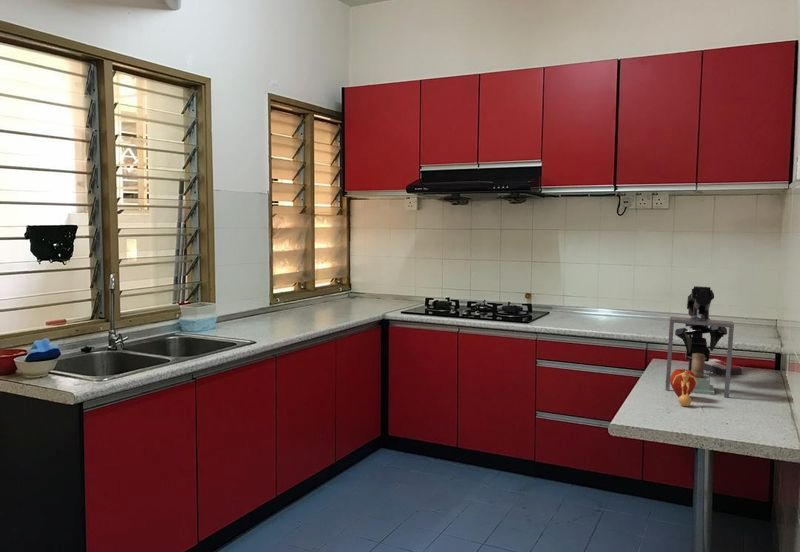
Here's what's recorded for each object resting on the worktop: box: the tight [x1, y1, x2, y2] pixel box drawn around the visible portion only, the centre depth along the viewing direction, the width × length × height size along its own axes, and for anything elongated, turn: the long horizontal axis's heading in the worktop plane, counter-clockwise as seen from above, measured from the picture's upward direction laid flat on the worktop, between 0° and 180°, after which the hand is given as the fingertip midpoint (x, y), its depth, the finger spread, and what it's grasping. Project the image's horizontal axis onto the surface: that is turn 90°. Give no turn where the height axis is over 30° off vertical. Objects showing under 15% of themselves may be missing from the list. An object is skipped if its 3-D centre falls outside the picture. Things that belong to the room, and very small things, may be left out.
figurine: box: [672, 371, 698, 407], centre depth 222 cm, size 8×6×12 cm
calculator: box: [704, 358, 743, 376], centre depth 278 cm, size 11×4×15 cm
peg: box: [691, 353, 705, 379], centre depth 245 cm, size 4×4×12 cm
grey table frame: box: [665, 316, 735, 399], centre depth 240 cm, size 8×21×27 cm, turn 66°
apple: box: [670, 368, 696, 398], centre depth 231 cm, size 9×8×11 cm
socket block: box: [691, 374, 715, 396], centre depth 245 cm, size 12×12×5 cm
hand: (699, 351), depth 253 cm, fingers open, 9 cm apart
